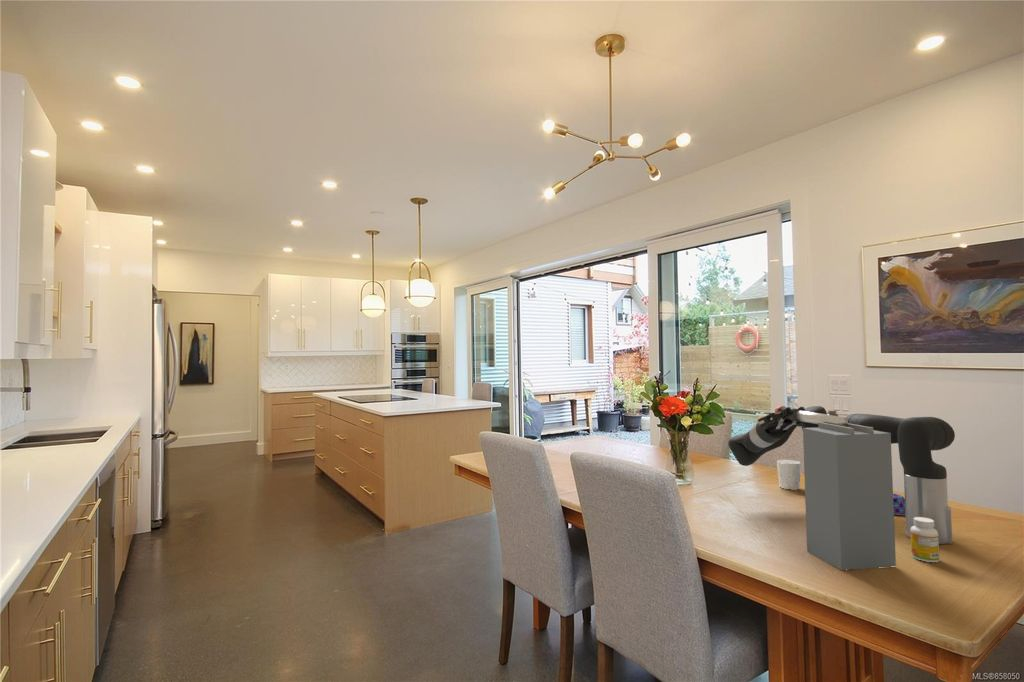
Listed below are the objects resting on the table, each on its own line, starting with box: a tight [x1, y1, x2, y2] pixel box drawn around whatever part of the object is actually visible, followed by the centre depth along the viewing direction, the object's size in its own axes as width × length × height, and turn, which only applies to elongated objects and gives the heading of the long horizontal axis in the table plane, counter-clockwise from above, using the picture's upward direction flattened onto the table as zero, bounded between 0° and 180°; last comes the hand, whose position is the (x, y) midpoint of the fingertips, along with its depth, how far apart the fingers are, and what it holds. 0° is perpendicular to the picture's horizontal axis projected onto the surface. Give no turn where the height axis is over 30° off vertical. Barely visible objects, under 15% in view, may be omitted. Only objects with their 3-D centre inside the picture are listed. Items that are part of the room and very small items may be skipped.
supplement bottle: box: [910, 517, 940, 564], centre depth 125 cm, size 5×5×10 cm
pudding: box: [893, 493, 905, 516], centre depth 163 cm, size 12×12×5 cm
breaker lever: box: [774, 405, 848, 427], centre depth 140 cm, size 25×4×4 cm, turn 5°
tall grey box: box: [802, 422, 897, 571], centre depth 126 cm, size 12×14×33 cm
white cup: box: [776, 459, 801, 491], centre depth 192 cm, size 8×8×10 cm
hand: (796, 410), depth 145 cm, fingers closed on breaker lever, 3 cm apart
